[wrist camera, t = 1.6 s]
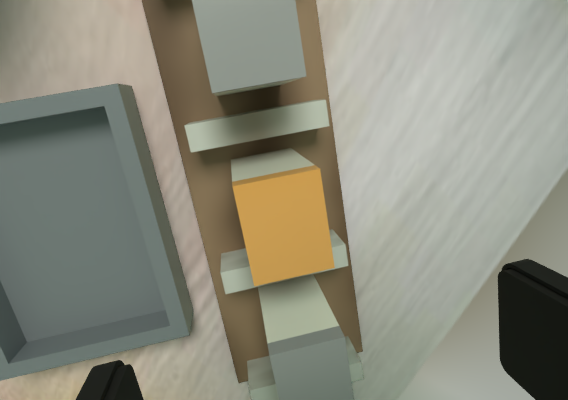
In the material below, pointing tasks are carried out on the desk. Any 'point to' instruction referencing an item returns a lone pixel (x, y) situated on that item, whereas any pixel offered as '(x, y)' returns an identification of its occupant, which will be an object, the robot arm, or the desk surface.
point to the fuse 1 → (249, 43)
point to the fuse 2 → (304, 342)
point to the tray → (82, 234)
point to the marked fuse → (282, 215)
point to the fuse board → (241, 143)
